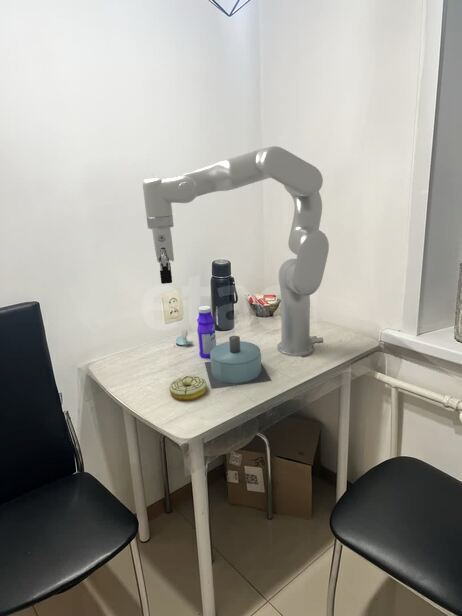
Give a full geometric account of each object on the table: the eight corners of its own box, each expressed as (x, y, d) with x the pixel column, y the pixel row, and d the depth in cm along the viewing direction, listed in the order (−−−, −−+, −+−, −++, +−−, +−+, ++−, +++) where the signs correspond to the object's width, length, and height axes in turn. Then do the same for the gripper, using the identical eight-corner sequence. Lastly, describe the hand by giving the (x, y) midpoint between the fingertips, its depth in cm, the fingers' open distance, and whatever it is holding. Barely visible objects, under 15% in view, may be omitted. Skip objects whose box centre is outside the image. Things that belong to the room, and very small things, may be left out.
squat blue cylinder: (254, 357, 137) (253, 326, 134) (266, 379, 123) (265, 344, 119) (208, 363, 135) (206, 331, 131) (215, 386, 121) (212, 350, 117)
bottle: (213, 360, 138) (210, 311, 133) (197, 359, 139) (193, 310, 134) (218, 351, 145) (215, 304, 139) (203, 350, 146) (199, 303, 140)
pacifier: (181, 351, 147) (195, 346, 150) (179, 335, 145) (193, 330, 148) (170, 345, 152) (184, 340, 156) (168, 330, 150) (182, 325, 154)
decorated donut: (191, 380, 126) (190, 369, 125) (214, 392, 118) (213, 380, 117) (162, 394, 119) (161, 382, 118) (185, 407, 112) (184, 395, 110)
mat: (257, 356, 139) (257, 355, 139) (271, 381, 122) (271, 380, 122) (204, 363, 136) (204, 362, 136) (211, 390, 119) (211, 388, 119)
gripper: (174, 224, 112) (180, 285, 118) (172, 218, 129) (177, 271, 134) (146, 227, 111) (153, 287, 117) (148, 220, 128) (154, 273, 133)
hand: (166, 279), depth 126 cm, fingers open, 9 cm apart
